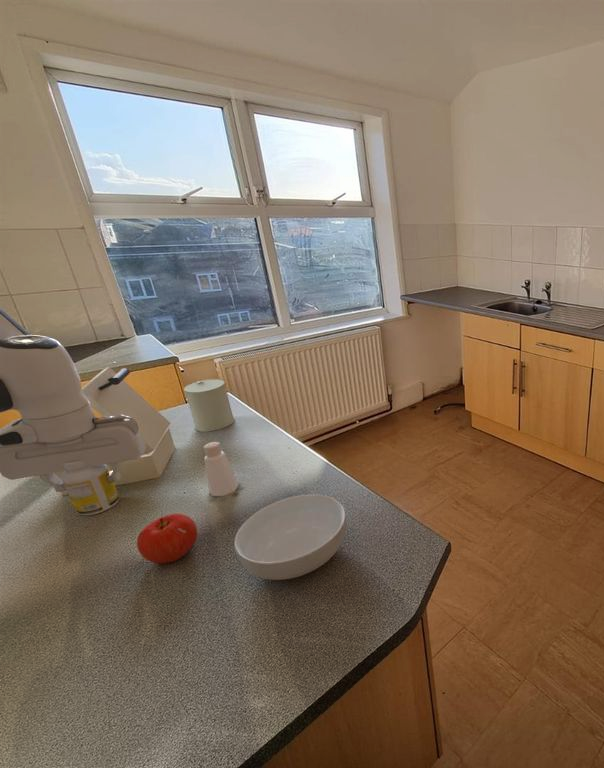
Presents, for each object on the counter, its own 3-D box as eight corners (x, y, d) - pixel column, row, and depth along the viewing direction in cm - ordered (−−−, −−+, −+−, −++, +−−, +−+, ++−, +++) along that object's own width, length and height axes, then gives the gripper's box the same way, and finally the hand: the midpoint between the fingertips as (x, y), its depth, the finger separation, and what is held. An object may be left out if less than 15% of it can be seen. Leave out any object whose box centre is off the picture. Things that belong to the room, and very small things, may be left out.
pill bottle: (118, 492, 90) (99, 444, 86) (121, 506, 86) (101, 457, 82) (76, 505, 86) (53, 456, 82) (77, 521, 82) (53, 470, 77)
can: (225, 413, 125) (215, 374, 120) (240, 422, 120) (230, 382, 115) (189, 425, 118) (176, 384, 113) (203, 435, 113) (191, 393, 108)
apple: (213, 541, 78) (201, 505, 75) (172, 576, 71) (157, 538, 68) (176, 534, 79) (163, 499, 76) (132, 567, 72) (116, 530, 69)
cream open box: (62, 495, 89) (51, 472, 87) (89, 462, 101) (80, 440, 98) (159, 477, 95) (151, 455, 93) (175, 448, 107) (168, 427, 105)
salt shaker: (207, 499, 89) (192, 453, 84) (211, 485, 93) (198, 441, 89) (237, 493, 91) (224, 448, 87) (240, 479, 95) (228, 436, 91)
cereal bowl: (285, 614, 64) (276, 579, 62) (222, 570, 72) (211, 537, 69) (370, 543, 78) (366, 512, 75) (310, 512, 86) (304, 483, 83)
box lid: (74, 393, 84) (102, 378, 85) (102, 370, 95) (127, 357, 96) (147, 454, 93) (172, 439, 94) (164, 426, 104) (187, 413, 105)
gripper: (138, 406, 85) (159, 465, 91) (-2, 424, 78) (29, 487, 83) (127, 420, 80) (150, 481, 85) (-25, 441, 72) (10, 507, 78)
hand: (89, 485), depth 84 cm, fingers closed on pill bottle, 6 cm apart
